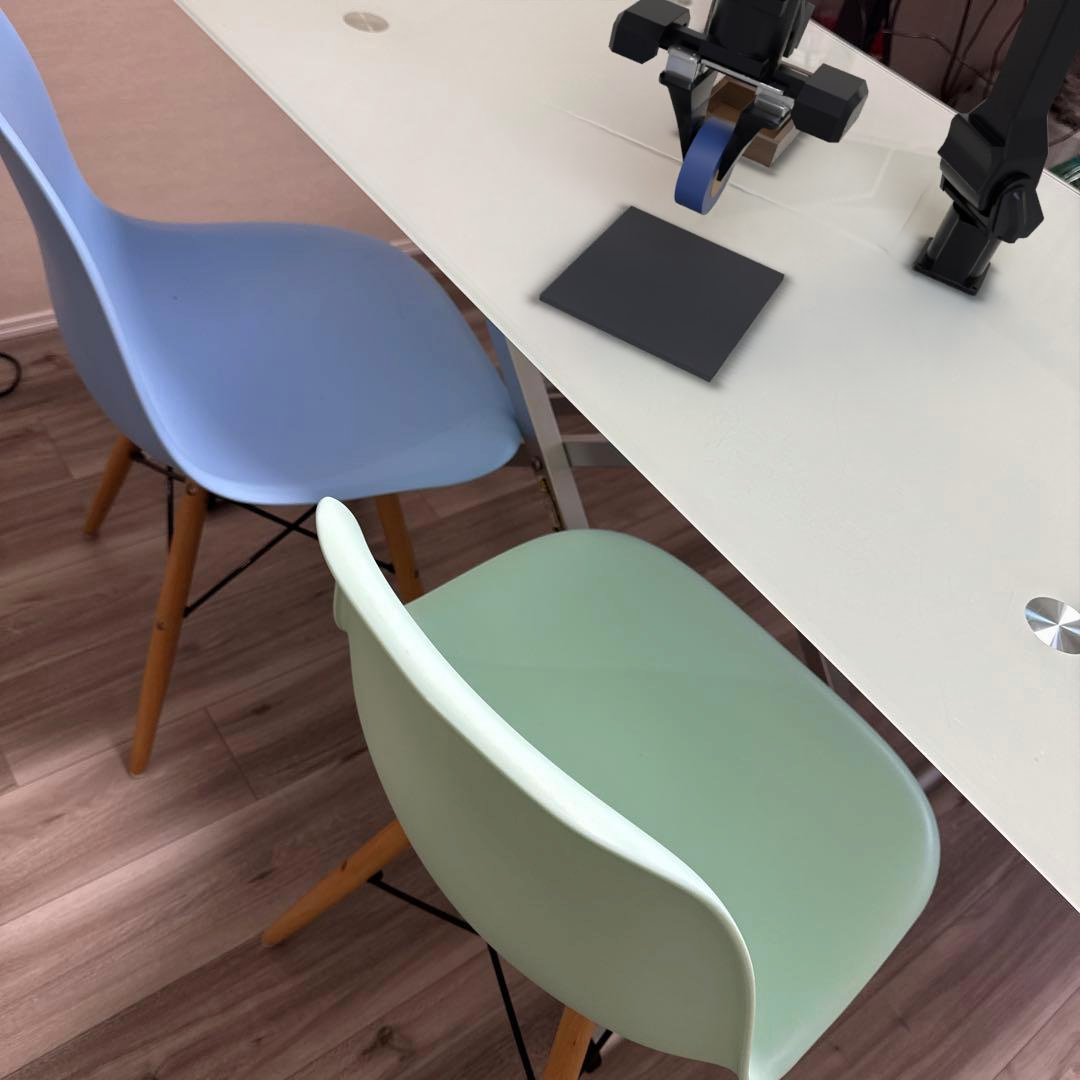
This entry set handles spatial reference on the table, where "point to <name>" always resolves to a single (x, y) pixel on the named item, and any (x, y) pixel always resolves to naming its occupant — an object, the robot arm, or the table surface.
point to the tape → (704, 167)
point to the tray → (728, 106)
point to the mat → (665, 291)
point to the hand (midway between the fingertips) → (704, 172)
